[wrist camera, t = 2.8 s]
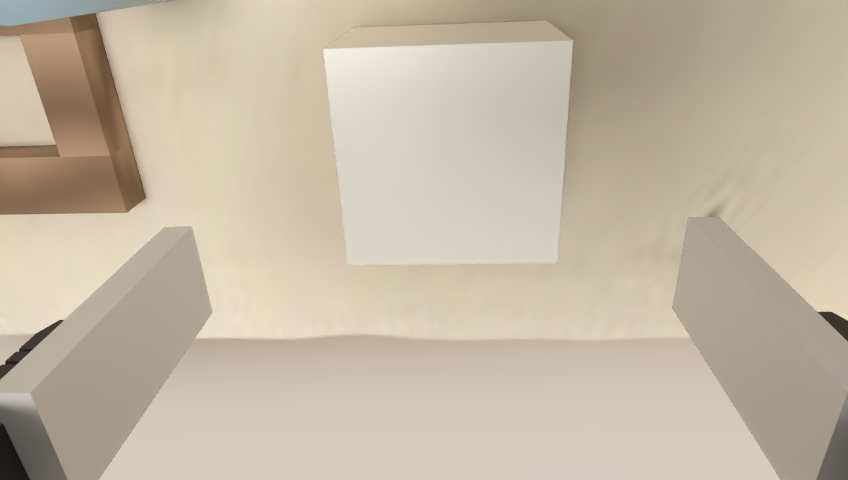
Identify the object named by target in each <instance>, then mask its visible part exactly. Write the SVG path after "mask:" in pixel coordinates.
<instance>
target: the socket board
mask: <svg viewBox="0 0 848 480" xmlns="http://www.w3.org/2000/svg"><path fill="white" fill-rule="evenodd" d="M7 35H20V38H21V41H22V44H23V47H24V50H25V53H26V56H27V59H28V62H29V65H30V68H31V71H32V74H33V77H34V80H35V83H36V86H37V89H38V92H39V95H40V98H41V101H42V104H43V107H44V110H45V113H46V116H47V119H48V122H49V125H50V128H51V131H52V134H53V137H54V139H55V142H56V145H57V146H19V147H0V215H4V214H69V213H127V212H128V211H130V210H131V209H132V208H133V207H135V206H136V205H137V204H139V203H140V202H141V201H142V200H144V199H145V194H144V191H143V187H142V183H141V180H140V176H139V173H138V169H137V165H136V162H135V158H134V154H133V151H132V147H131V144H130V140H129V136H128V133H127V129H126V125H125V122H124V118H123V114H122V111H121V107H120V104H119V100H118V96H117V93H116V89H115V85H114V82H113V78H112V75H111V71H110V67H109V64H108V60H107V56H106V53H105V49H104V45H103V42H102V38H101V35H100V31H99V27H98V24H97V20H96V16H95V13H91V14H85V15H79V16H72V17H66V18H60V19H53V20H47V21H41V22H34V23H28V24H22V25H14V26H1V25H0V36H7Z"/></svg>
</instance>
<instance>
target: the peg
mask: <svg viewBox="0 0 848 480" xmlns="http://www.w3.org/2000/svg"><path fill="white" fill-rule="evenodd" d="M167 1H173V0H0V25H1V26H14V25H22V24H28V23H34V22H41V21H47V20H53V19H60V18H66V17H72V16H79V15H85V14H91V13H97V12H104V11H110V10H116V9H123V8H129V7H135V6H142V5H148V4H154V3H160V2H167Z"/></svg>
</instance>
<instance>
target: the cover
mask: <svg viewBox="0 0 848 480" xmlns="http://www.w3.org/2000/svg"><path fill="white" fill-rule="evenodd" d="M572 52H573V40H572V39H571V38H569V37H568V36H567V35H565V34H564V33H563V32H561V31H560V30H559V29H557V28H556V27H555V26H553V25H552V24H551V23H549V22H548V21H547V20H542V21H514V22H487V23H460V24H433V25H405V26H378V27H354V28H353V29H351V30H350V31H348V32H347V33H345V34H344V35H343V36H341V37H340V38H338V39H337V40H335V41H334V42H332V43H331V44H330V45H328V46H327V47H325V48H324V49H323V53H324V62H325V71H326V80H327V88H328V97H329V106H330V115H331V124H332V133H333V141H334V150H335V159H336V168H337V177H338V186H339V194H340V203H341V212H342V221H343V230H344V239H345V247H346V256H347V265H413V264H525V263H557V260H558V246H559V232H560V219H561V205H562V191H563V177H564V163H565V149H566V135H567V122H568V108H569V94H570V80H571V66H572Z"/></svg>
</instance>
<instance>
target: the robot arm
mask: <svg viewBox="0 0 848 480" xmlns="http://www.w3.org/2000/svg"><path fill="white" fill-rule="evenodd" d="M672 308H673V310H674V312H675V313H676V315H677V316H678V318H679V319H680V321H681V323H682V324H683V326H684V327H685V329H686V331H687V332H688V334H689V335H690V337H691V338H692V340H693V342H694V343H695V345H696V346H697V348H698V349H699V351H700V353H701V354H702V356H703V357H704V359H705V361H706V362H707V364H708V365H709V367H710V368H711V370H712V372H713V373H714V375H715V376H716V378H717V380H718V381H719V383H720V384H721V386H722V388H723V389H724V390H725V392H726V394H727V395H728V397H729V399H730V400H731V402H732V403H733V405H734V407H735V408H736V410H737V411H738V413H739V414H740V416H741V418H742V419H743V421H744V422H745V424H746V426H747V427H748V429H749V430H750V432H751V433H752V435H753V436H754V438H755V440H756V441H757V443H758V444H759V446H760V448H761V449H762V451H763V452H764V454H765V455H766V457H767V459H768V460H769V462H770V463H771V465H772V467H773V468H774V470H775V471H776V473H777V475H778V476H779V478H780V479H781V480H848V321H847V320H845V319H844V318H842V317H840V316H838V315H836V314H834V313H832V312H817V311H816V310H815V309H814V308H813V307H812V306H810V305H809V304H808V303H807V302H806V301H805V300H804V299H803V298H802V297H801V296H800V295H799V294H798V293H797V292H796V291H795V290H794V289H793V288H792V287H791V286H790V285H789V284H788V283H787V282H786V281H785V280H784V279H783V278H781V277H780V276H779V275H778V274H777V273H776V272H775V271H774V270H773V269H772V268H771V267H770V266H769V265H768V264H767V263H766V262H765V261H764V260H763V259H762V258H761V257H760V256H759V255H758V254H757V253H756V252H755V251H754V250H752V249H751V248H750V247H749V246H748V245H747V244H746V243H745V242H744V241H743V240H742V239H741V238H740V237H739V236H738V235H737V234H736V233H735V232H734V231H733V230H732V229H731V228H730V227H729V226H728V225H727V224H726V223H725V222H724V221H722V220H721V219H720V218H719V217H694V218H688V222H687V228H686V234H685V239H684V245H683V251H682V256H681V262H680V268H679V273H678V279H677V284H676V290H675V296H674V301H673V307H672ZM211 314H212V308H211V304H210V300H209V296H208V292H207V287H206V283H205V279H204V275H203V271H202V266H201V262H200V258H199V254H198V250H197V245H196V241H195V237H194V233H193V229H192V227H164V228H163V229H162V230H161V231H160V232H159V233H158V234H156V235H155V236H154V237H153V238H152V239H151V240H150V241H149V242H148V243H147V244H146V245H145V246H144V247H142V248H141V249H140V250H139V251H138V252H137V253H136V254H135V255H134V256H133V257H132V258H131V259H130V260H129V261H127V262H126V263H125V264H124V265H123V266H122V267H121V268H120V269H119V270H118V271H117V272H116V273H115V274H113V275H112V276H111V277H110V278H109V279H108V280H107V281H106V282H105V283H104V284H103V285H102V286H101V287H99V288H98V289H97V290H96V291H95V292H94V293H93V294H92V295H91V296H90V297H89V298H88V299H87V300H86V301H84V302H83V303H82V304H81V305H80V306H79V307H78V308H77V309H76V310H75V311H74V312H73V313H72V314H70V315H69V316H68V317H67V318H66V319H65V320H59V321H57V322H56V323H54V324H52V325H50V326H49V327H47V328H45V329H43V330H42V331H40V332H38V333H36V334H35V335H34V336H33V337H32V338H31V339H30V340H29V341H28V342H26V343H25V344H24V345H23V346H22V347H21V348H20V350H19V352H16V353H14V354H13V355H12V356H11V357H10V358H9V359H7V360H6V361H5V362H6V364H5V365H1V366H0V480H99V479H100V477H101V476H102V474H103V473H104V471H105V470H106V468H107V467H108V465H109V464H110V462H111V461H112V459H113V458H114V457H115V455H116V454H117V452H118V451H119V449H120V448H121V446H122V444H123V443H124V442H125V440H126V439H127V437H128V436H129V434H130V433H131V431H132V430H133V429H134V427H135V426H136V424H137V423H138V421H139V420H140V418H141V417H142V415H143V414H144V412H145V411H146V409H147V408H148V406H149V405H150V403H151V402H152V400H153V399H154V398H155V396H156V394H157V393H158V392H159V390H160V389H161V387H162V386H163V384H164V383H165V381H166V380H167V379H168V377H169V376H170V374H171V373H172V371H173V370H174V368H175V367H176V365H177V364H178V362H179V361H180V359H181V358H182V356H183V355H184V354H185V352H186V351H187V349H188V348H189V346H190V345H191V343H192V342H193V340H194V339H195V337H196V336H197V334H198V333H199V331H200V330H201V328H202V327H203V326H204V324H205V323H206V321H207V320H208V318H209V317H210V315H211Z"/></svg>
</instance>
